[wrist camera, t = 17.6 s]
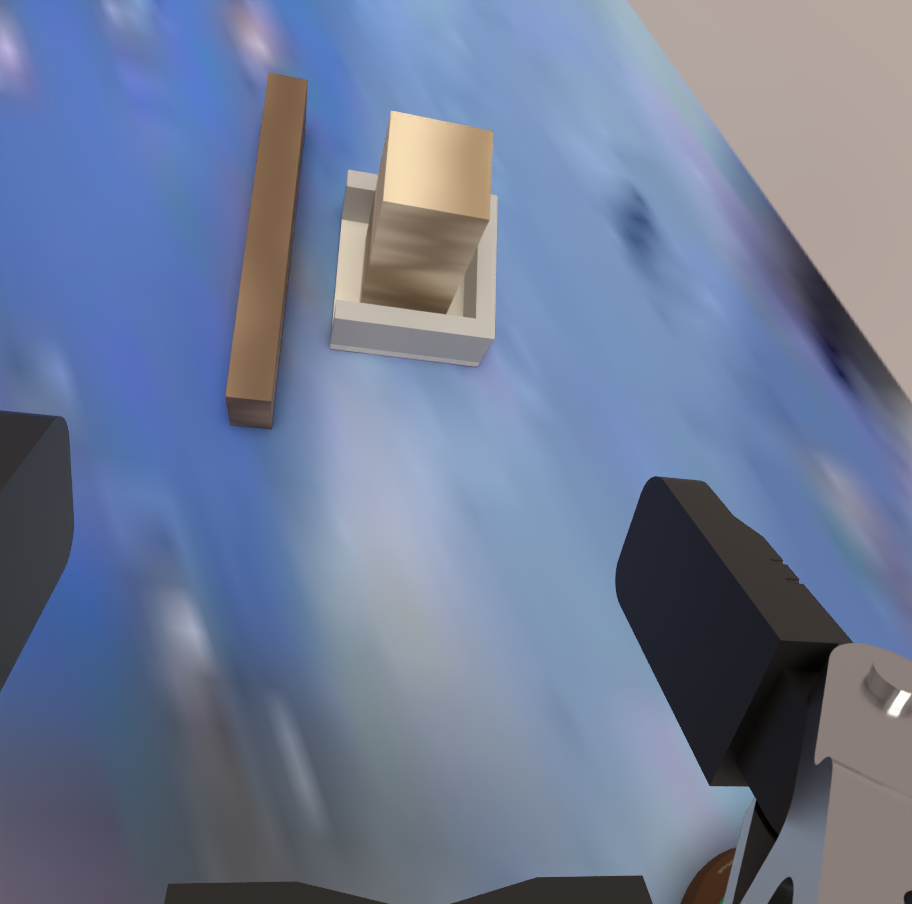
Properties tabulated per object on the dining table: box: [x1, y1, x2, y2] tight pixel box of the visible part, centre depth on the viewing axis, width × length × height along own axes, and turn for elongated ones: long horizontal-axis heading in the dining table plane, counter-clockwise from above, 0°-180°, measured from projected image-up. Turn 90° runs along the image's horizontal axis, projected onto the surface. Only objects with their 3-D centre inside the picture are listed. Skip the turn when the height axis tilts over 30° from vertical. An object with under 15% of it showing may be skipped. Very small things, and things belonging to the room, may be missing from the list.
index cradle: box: [330, 170, 497, 367], centre depth 40 cm, size 8×8×4 cm
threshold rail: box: [225, 73, 308, 429], centre depth 39 cm, size 2×18×4 cm, turn 178°
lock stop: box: [359, 111, 493, 314], centre depth 37 cm, size 4×4×10 cm
